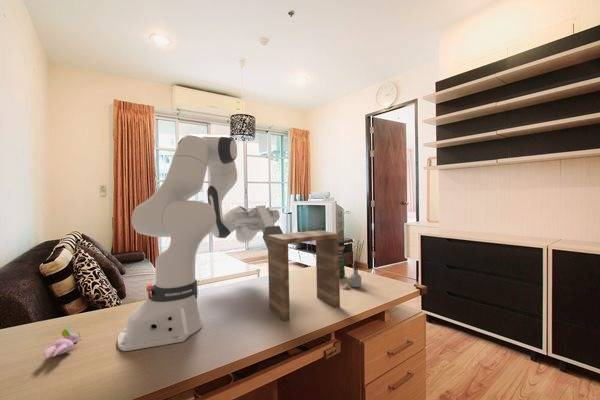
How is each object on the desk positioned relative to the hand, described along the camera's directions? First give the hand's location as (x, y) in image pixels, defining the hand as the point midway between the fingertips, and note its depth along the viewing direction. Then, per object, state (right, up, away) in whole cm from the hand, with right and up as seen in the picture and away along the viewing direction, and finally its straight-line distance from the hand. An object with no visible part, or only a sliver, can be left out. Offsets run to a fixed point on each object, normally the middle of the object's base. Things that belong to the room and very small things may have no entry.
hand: (261, 208), depth 118 cm
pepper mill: (+2, -8, -4) cm, 10 cm away
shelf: (+17, -34, -17) cm, 42 cm away
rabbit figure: (-46, -37, -43) cm, 73 cm away
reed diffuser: (+40, -34, +3) cm, 52 cm away
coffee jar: (+33, -34, +19) cm, 51 cm away
